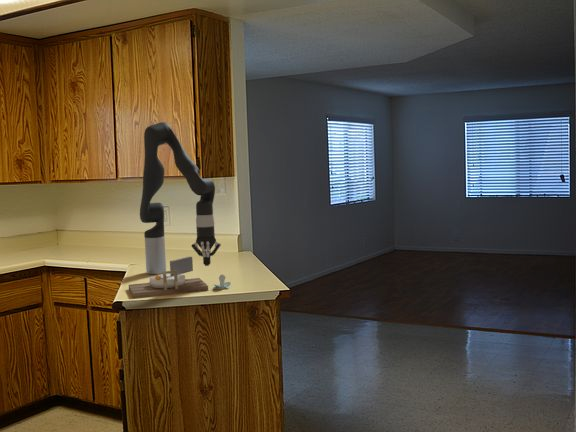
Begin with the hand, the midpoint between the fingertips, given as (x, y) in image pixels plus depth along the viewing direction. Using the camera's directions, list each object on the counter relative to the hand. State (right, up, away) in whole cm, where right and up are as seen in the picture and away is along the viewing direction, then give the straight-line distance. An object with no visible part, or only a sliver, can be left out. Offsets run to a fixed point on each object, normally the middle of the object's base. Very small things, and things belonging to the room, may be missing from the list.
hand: (207, 265), depth 280 cm
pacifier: (+7, -9, -10) cm, 15 cm away
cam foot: (-13, -7, -6) cm, 16 cm away
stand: (-15, -9, -9) cm, 20 cm away
